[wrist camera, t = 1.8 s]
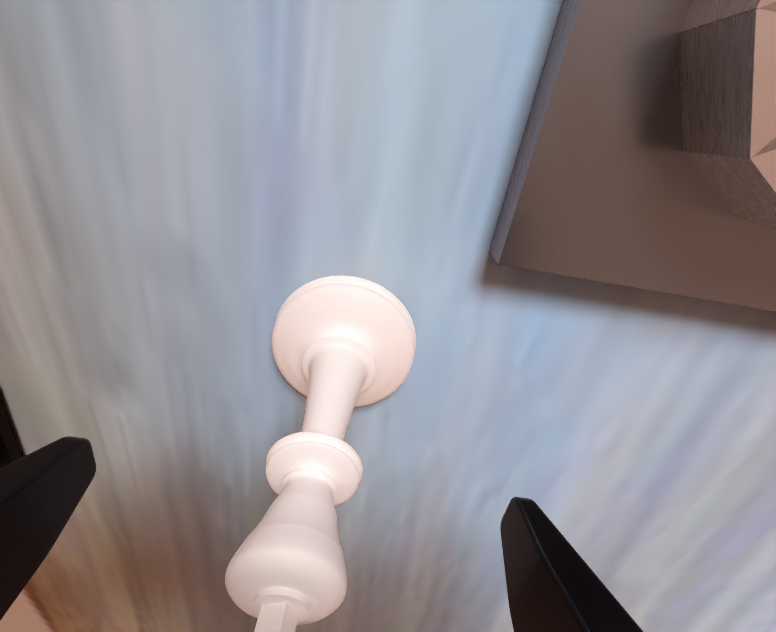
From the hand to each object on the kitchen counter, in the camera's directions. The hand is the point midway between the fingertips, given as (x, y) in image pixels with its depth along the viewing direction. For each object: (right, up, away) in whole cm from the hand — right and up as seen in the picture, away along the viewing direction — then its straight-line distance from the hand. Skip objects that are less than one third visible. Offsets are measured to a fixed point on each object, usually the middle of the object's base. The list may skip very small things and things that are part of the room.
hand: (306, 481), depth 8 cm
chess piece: (0, +3, +5) cm, 6 cm away
